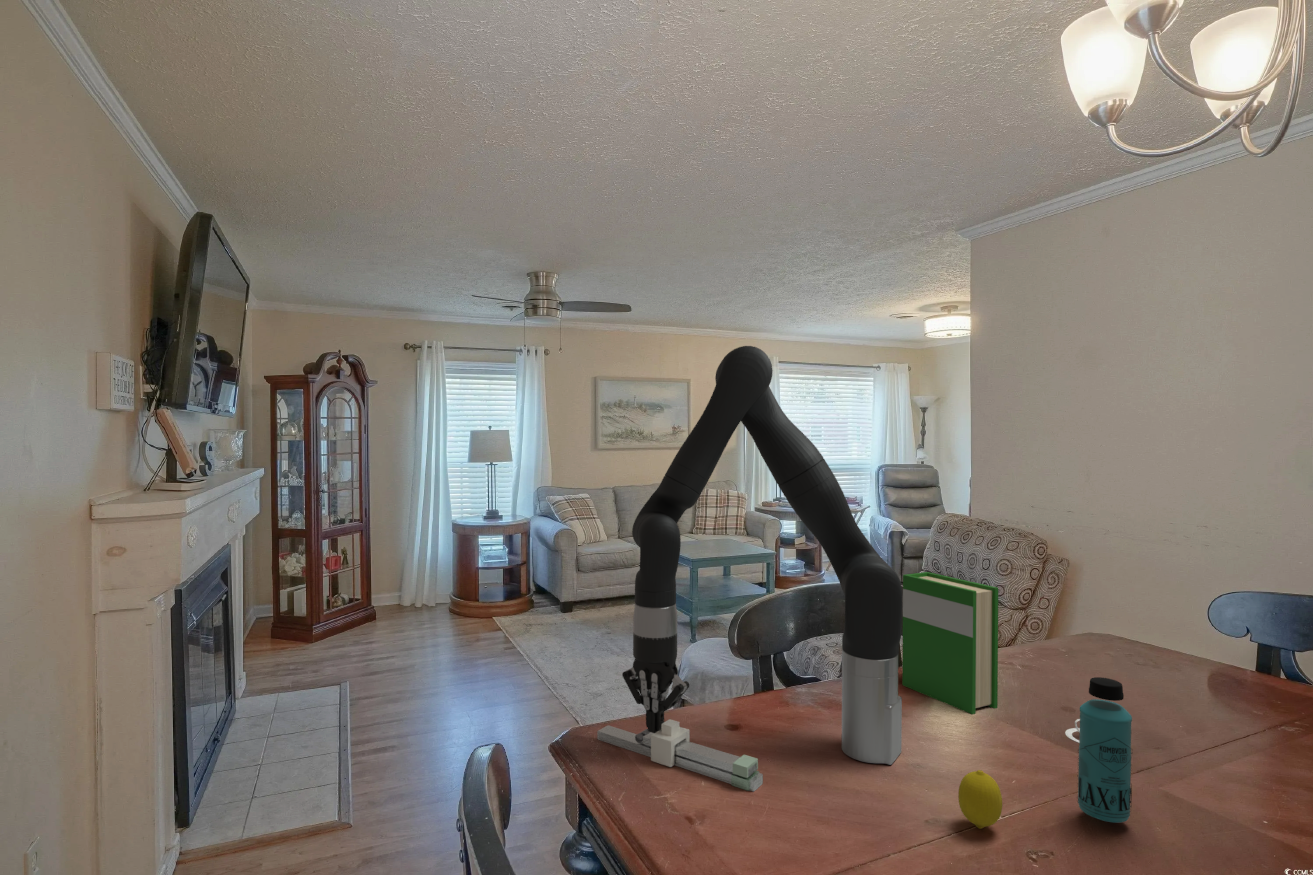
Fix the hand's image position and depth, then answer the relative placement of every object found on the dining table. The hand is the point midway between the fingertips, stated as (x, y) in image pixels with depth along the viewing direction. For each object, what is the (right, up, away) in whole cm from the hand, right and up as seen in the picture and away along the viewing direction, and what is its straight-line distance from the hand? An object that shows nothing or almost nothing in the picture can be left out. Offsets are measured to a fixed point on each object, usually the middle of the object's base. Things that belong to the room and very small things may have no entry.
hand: (654, 730), depth 119 cm
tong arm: (+7, -2, -5) cm, 9 cm away
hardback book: (+61, -4, +27) cm, 67 cm away
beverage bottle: (+63, -4, -20) cm, 67 cm away
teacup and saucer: (+80, -5, +4) cm, 80 cm away
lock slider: (+3, -4, -2) cm, 5 cm away
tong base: (+3, -4, -2) cm, 6 cm away
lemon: (+45, -4, -22) cm, 50 cm away
